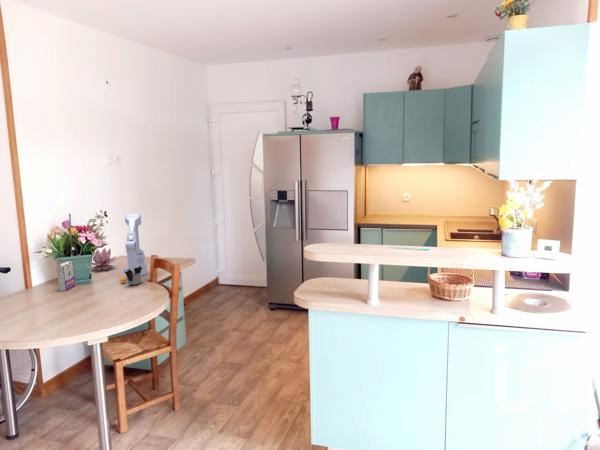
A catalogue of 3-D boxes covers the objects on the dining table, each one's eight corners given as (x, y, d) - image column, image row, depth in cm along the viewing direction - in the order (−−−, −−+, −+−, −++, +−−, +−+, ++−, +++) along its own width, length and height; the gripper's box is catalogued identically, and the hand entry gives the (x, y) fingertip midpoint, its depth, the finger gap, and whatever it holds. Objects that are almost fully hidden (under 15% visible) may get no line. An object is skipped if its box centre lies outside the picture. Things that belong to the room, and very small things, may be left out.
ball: (123, 282, 294) (122, 276, 294) (127, 282, 293) (127, 276, 292) (118, 284, 291) (118, 278, 290) (123, 284, 289) (123, 278, 289)
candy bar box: (67, 286, 289) (65, 261, 286) (75, 285, 289) (73, 261, 286) (58, 291, 278) (55, 265, 275) (66, 291, 278) (63, 265, 275)
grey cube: (134, 281, 292) (133, 272, 291) (141, 282, 290) (140, 273, 289) (127, 283, 287) (126, 274, 286) (134, 284, 285) (134, 275, 284)
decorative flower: (123, 266, 338) (122, 247, 335) (104, 274, 317) (102, 253, 315) (100, 265, 343) (98, 246, 341) (79, 272, 323) (77, 252, 321)
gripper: (129, 262, 278) (131, 283, 280) (145, 257, 291) (146, 277, 293) (120, 261, 280) (122, 282, 283) (136, 256, 294) (138, 276, 296)
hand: (134, 279), depth 288 cm, fingers closed on grey cube, 6 cm apart
